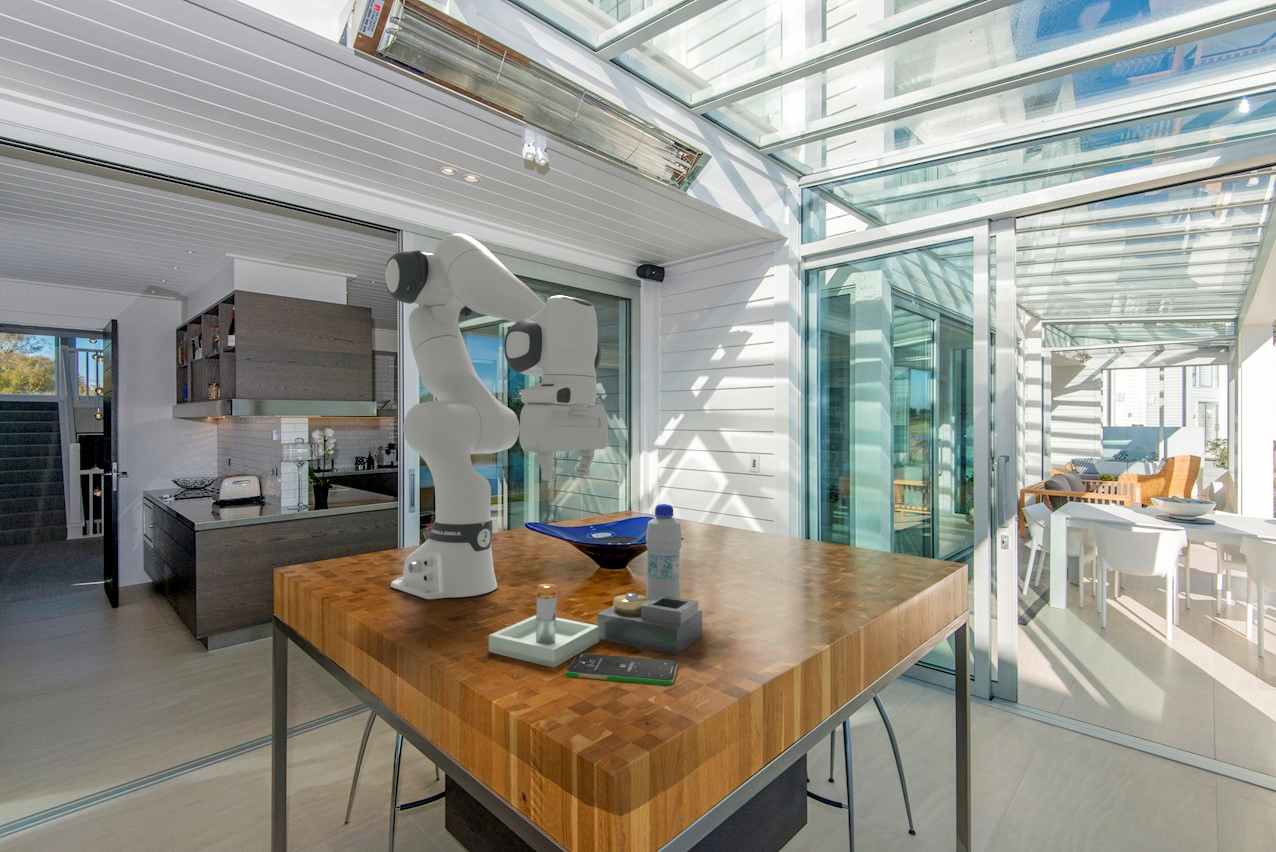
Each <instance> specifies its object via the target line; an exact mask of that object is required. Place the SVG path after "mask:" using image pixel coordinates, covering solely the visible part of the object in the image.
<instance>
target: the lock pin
mask: <svg viewBox="0 0 1276 852" xmlns="http://www.w3.org/2000/svg"><path fill="white" fill-rule="evenodd" d="M536 589H537V592H536V612H535V613H536V614H535V615H536V643H540V644H544V645H550V644H553V643H555V636H556V618H557V600H558V599H557V597H558V594H557V593H558V586H557V584H554V583H540V584H538V585H537V588H536Z"/></svg>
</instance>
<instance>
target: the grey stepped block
mask: <svg viewBox="0 0 1276 852" xmlns="http://www.w3.org/2000/svg"><path fill="white" fill-rule="evenodd" d="M596 615H597V617H596V618H597V619H596V625H597V626H599V640H602V641H604V642H605V641H606V642H611V643H615V644H616V643H617V644H620V645H625V646H629V647H635V648H640V649H644V650H649V651H654V652H659V653H662V654H663V653H664V654H668V655H673V656H677V655H679V654H680V653H681V652H683V651H684V650H685V649H687V648H688V647H689V646H691V645H692V644H693V643H694V642H695V641H697V640H698V639H699V638H701V637H702V636H703V611H702V610H699V601H698V600H692V599H686V598H681V597H680V598H675V597H668V596H662V595H660V596H658V597H656V598H654V599H652V600H651V601H650V599H649V598H648V597H646V595H645V596H644V595H642V594H638V593H636V592H627V593H625V594H621V595H617V596H615V597H614V598H613V601H612V606H610V607H609V608H606V609H604V610H602V611H600V612H598V613H597V614H596Z"/></svg>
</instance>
